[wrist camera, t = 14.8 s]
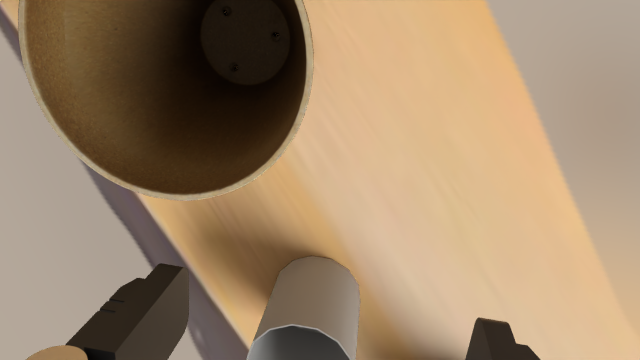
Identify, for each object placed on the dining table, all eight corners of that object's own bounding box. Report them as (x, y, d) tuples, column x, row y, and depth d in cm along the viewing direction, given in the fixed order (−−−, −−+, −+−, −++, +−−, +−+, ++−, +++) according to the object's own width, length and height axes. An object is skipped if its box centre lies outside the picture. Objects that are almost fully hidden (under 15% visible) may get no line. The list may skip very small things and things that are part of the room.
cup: (259, 300, 47) (228, 374, 38) (301, 240, 44) (279, 305, 34) (330, 343, 48) (317, 426, 38) (377, 287, 44) (375, 363, 35)
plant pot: (341, 128, 39) (315, 206, 25) (171, 124, 41) (51, 195, 26) (342, -73, 34) (309, -127, 19) (146, -67, 36) (-21, -112, 21)
